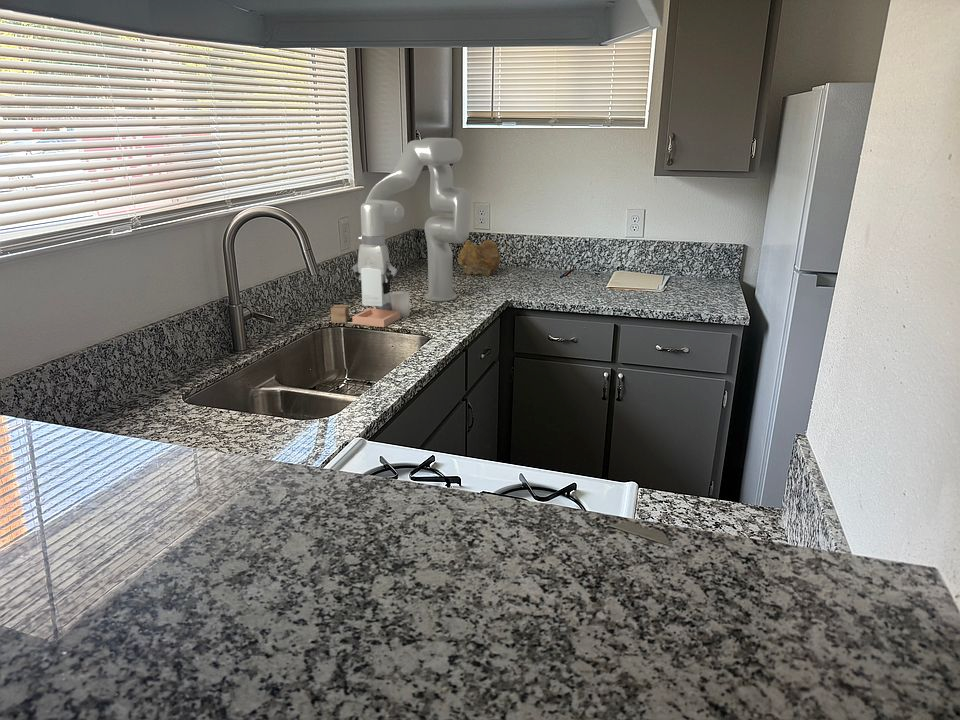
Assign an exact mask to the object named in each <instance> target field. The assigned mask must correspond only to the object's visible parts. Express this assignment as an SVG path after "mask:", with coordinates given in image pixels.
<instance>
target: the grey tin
mask: <svg viewBox="0 0 960 720" xmlns="http://www.w3.org/2000/svg"><path fill="white" fill-rule="evenodd" d="M391 293H392V292H389V301H388V302H387V303H385V304H384V305H383V306H375V309H380V310H390V311H391V310H392V302H391Z"/></svg>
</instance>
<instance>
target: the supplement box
mask: <svg viewBox="0 0 960 720" xmlns="http://www.w3.org/2000/svg"><path fill="white" fill-rule="evenodd" d="M383 282H385V281H384V279H383V275H381V270H380V269H370V268H362V269H361V283H362V292H361V303H362V304H361V305H362V306H369V307H371V306H372V307H376V306H383V305H384V304H385V303H387V302H388V301H389V293H387V294H384V291H383Z"/></svg>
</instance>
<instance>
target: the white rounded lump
mask: <svg viewBox="0 0 960 720" xmlns="http://www.w3.org/2000/svg"><path fill="white" fill-rule="evenodd" d="M390 293H391V302H392V311H399V312H400V318H407V317H410V315H411V307H410V306H411V305H410V304H411V303H410V299H411V298H410V291H405V290H396V291H392V292H390Z"/></svg>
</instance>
